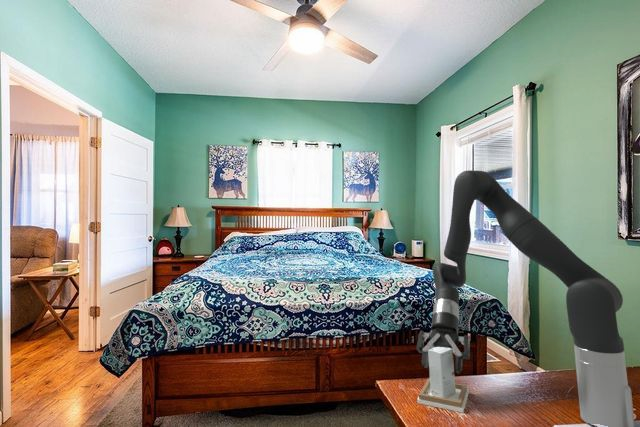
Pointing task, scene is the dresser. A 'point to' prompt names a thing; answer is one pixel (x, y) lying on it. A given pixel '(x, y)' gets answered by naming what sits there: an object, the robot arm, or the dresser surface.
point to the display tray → (450, 403)
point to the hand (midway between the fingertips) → (440, 369)
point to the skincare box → (441, 372)
